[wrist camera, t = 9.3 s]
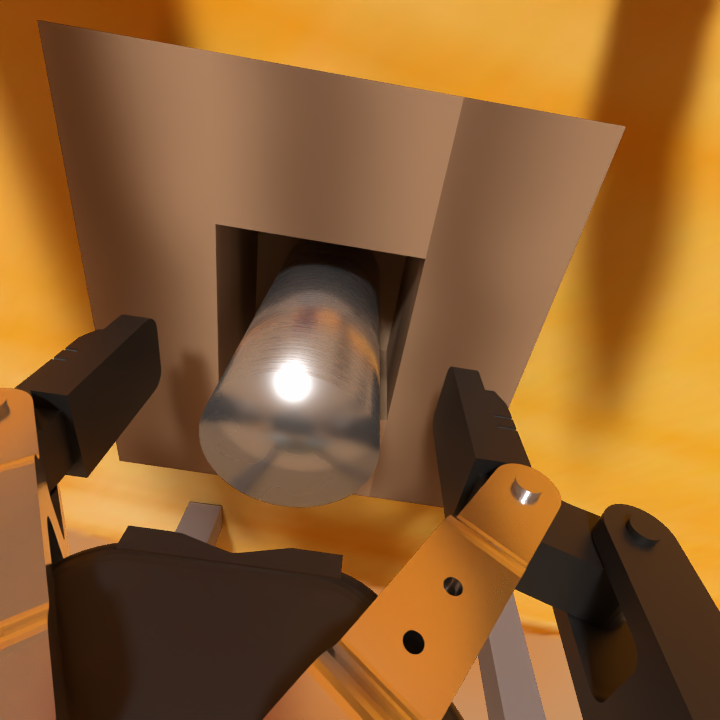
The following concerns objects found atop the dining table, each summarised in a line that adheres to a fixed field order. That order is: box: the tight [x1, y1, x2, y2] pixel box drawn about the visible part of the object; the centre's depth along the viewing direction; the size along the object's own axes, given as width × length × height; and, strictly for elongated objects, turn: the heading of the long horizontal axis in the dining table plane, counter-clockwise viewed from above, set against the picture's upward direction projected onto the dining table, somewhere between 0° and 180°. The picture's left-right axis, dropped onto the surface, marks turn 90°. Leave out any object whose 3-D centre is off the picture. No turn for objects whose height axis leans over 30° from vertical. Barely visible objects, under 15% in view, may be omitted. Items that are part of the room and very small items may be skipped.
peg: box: [199, 239, 380, 507], centre depth 14 cm, size 4×4×10 cm
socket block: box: [37, 20, 626, 507], centre depth 16 cm, size 14×14×6 cm
